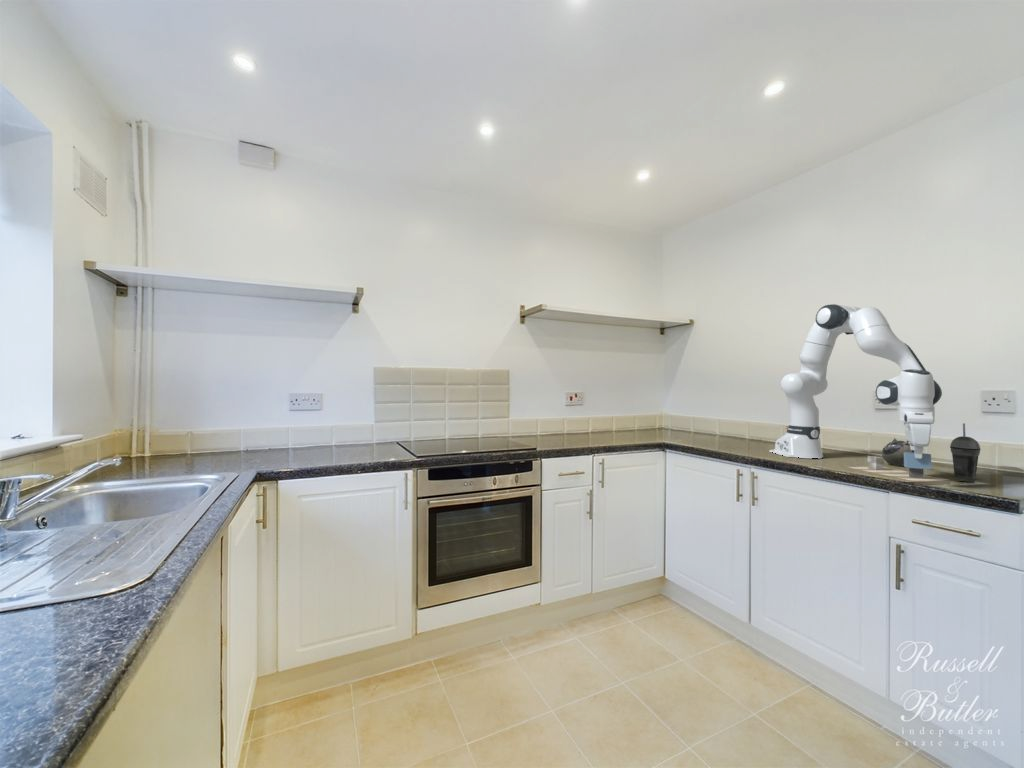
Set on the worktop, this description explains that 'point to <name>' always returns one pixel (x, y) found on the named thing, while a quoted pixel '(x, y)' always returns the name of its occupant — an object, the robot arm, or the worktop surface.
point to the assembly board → (900, 473)
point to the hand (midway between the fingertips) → (916, 456)
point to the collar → (917, 461)
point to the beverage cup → (965, 457)
